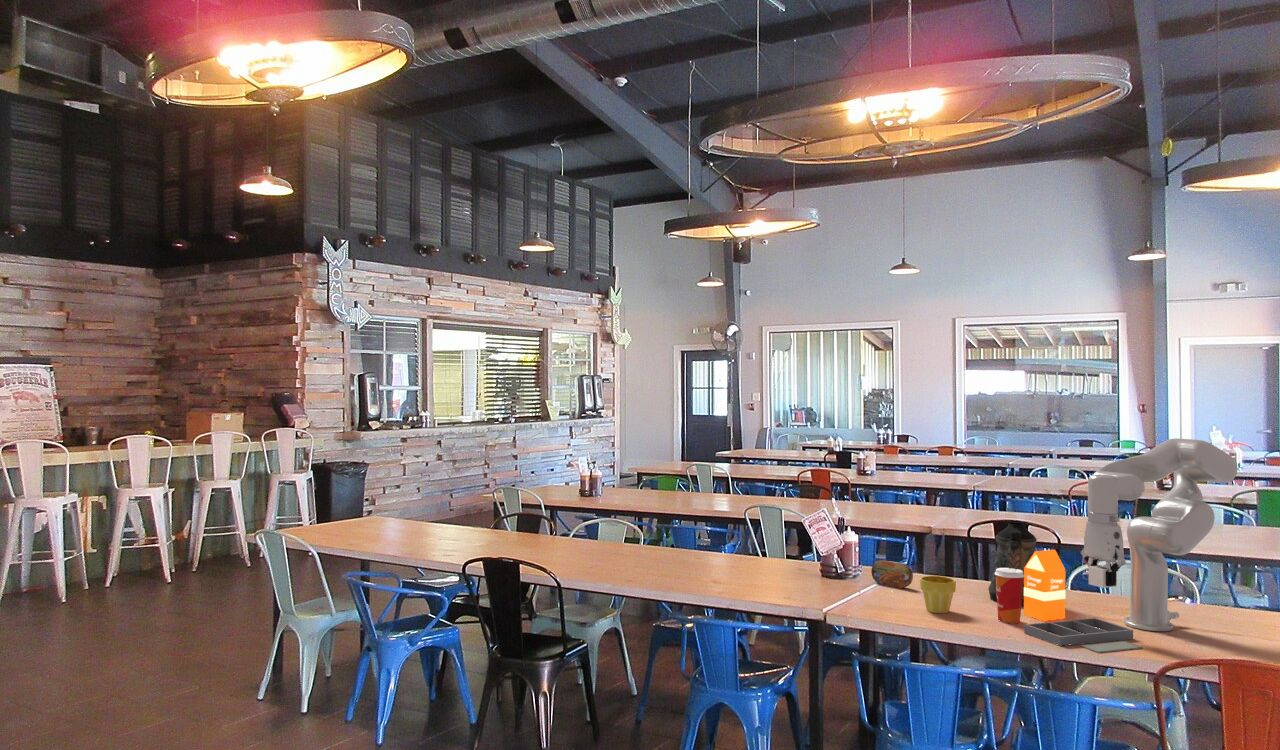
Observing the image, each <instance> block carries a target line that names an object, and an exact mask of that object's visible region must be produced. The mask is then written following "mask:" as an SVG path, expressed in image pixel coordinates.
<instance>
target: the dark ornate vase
mask: <svg viewBox="0 0 1280 750" xmlns="http://www.w3.org/2000/svg"><path fill="white" fill-rule="evenodd" d="M1037 541H1038V539H1037V537H1036V536H1035V535H1034V534H1033V533H1032V532H1031V531H1030V530H1028V529H1027V528H1026V527H1025V525H1024V523H1022V522H1009V523H1008V525H1007V526H1006V527H1005V528H1004V529H1002V530H1001V531H999V532H998V533H996V535H995V542H996V543H997V548H996V553H995V554H996V555H995V559H994V568H993V573H992V577H991V581H990V584H989V586H988V589H987V590H988V593H989V598H990V600H991V601H992V602H994V603H997V591H996V575H995V574H994V573H995V572H996V569H997V568H1010V569H1011V568H1013V569H1016V570H1017V569H1019V570H1022V571H1023V575H1024V567H1025V566H1026V565H1027V563H1028V562H1029V560H1030V559H1031V557H1032V556H1033V554H1034V553H1035V551H1036V549H1035V547H1036V544H1037ZM1016 570H1015V571H1016ZM1021 607H1024V577H1023V588H1022V602H1021Z"/></svg>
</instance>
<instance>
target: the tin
mask: <svg viewBox="0 0 1280 750" xmlns="http://www.w3.org/2000/svg"><path fill="white" fill-rule="evenodd" d="M870 572H871V576H872V578H873V580H874V581H875V582H876V584H879V585H880V586H881V585H882V586H887V587H892V588H898V589H902V588H907V587H908V586H910V585H911V584H912V583H913V578H914V573H913V570H912V568H911V567H910V565H908V564H906V563H903V562H899V561H898V562H897V561H892V560H891V561H889V560H884V559H883V560H881V559H880V560H877V561H875V562H874V563H873V565H872V566H871V571H870Z"/></svg>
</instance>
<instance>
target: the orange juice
mask: <svg viewBox="0 0 1280 750" xmlns="http://www.w3.org/2000/svg"><path fill="white" fill-rule="evenodd" d="M1024 576H1025V577H1024V606H1023V616H1024V615H1026V616H1025V617H1027V616H1029V617H1028V618H1031V617H1033V618H1032V619H1034V618H1036V619H1035V620H1038V619H1039V620H1038V621H1041V620H1043V621H1042V622H1049V621H1048V620H1051V621H1057V620H1056V619H1059V620H1064V619H1063V618H1065V619H1066V568H1065V567H1064V564H1063V563H1062V561H1061V559H1060V556H1059V555H1058V552H1057V551H1056V549H1049V550H1048V549H1046V550H1035V553H1034V554H1033V556H1032V557H1031V559H1030V560H1029V562H1028V563H1027V565H1026V566H1025V567H1024Z"/></svg>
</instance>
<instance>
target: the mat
mask: <svg viewBox="0 0 1280 750" xmlns="http://www.w3.org/2000/svg"><path fill="white" fill-rule="evenodd" d="M1079 645H1080V646H1082V647H1081V648H1083V647H1085V648H1087V649H1086V650H1088V649H1089V650H1088V651H1091V652H1094V653H1098V654H1101V653H1103V654H1104V653H1113V652H1121V651H1122V650H1123V651H1130V649H1133V650H1140V649H1141V648H1142V649H1143V646H1141V645H1137V644H1135V643H1132V642H1129V641H1127V640H1119V641H1109V642H1099V643H1089V644H1079ZM1085 648H1084V649H1085Z"/></svg>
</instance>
